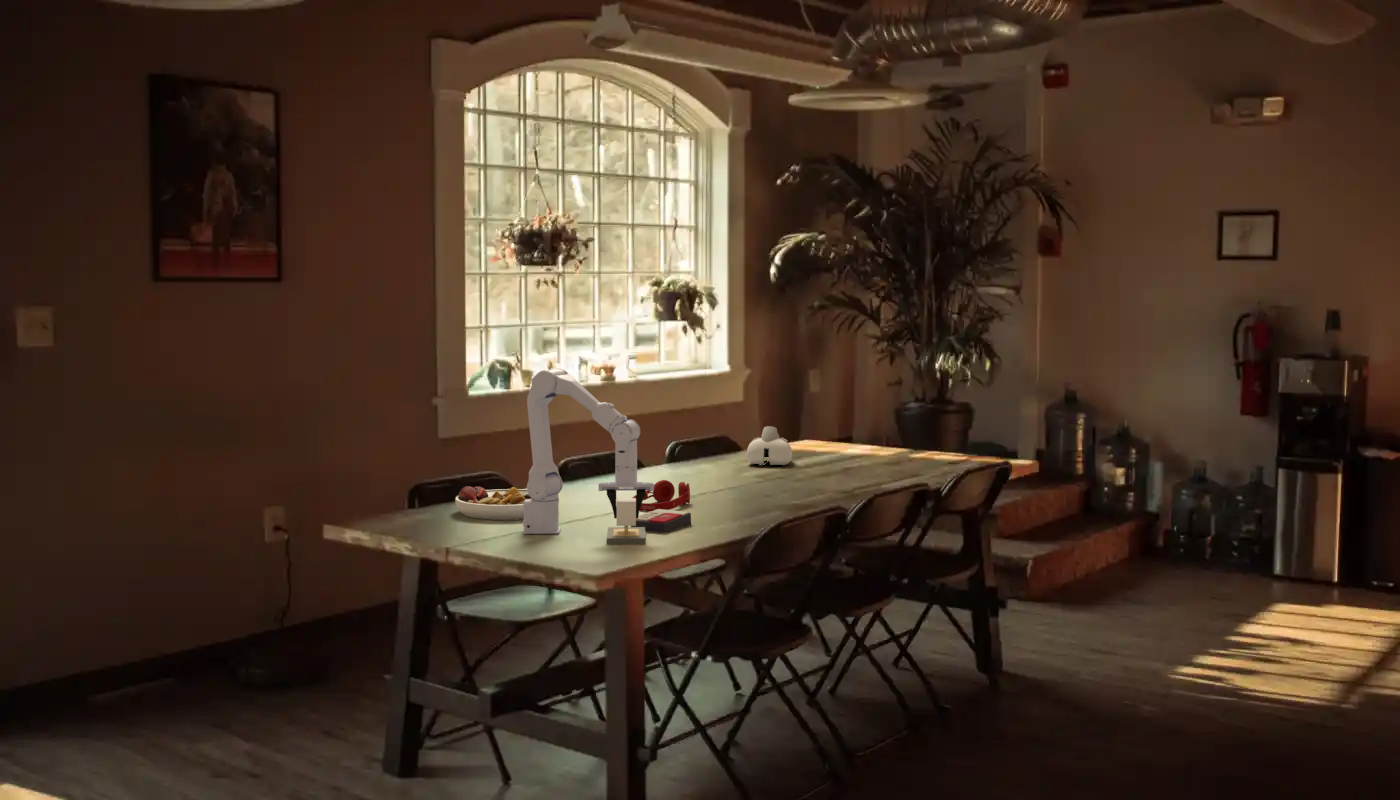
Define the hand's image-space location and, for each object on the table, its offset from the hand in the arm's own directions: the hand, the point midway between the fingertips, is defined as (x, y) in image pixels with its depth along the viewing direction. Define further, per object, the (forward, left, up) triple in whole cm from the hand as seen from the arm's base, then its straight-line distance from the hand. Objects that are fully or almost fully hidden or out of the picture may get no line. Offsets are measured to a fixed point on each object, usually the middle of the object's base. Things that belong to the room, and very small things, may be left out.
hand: (626, 517), depth 359 cm
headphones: (+10, +51, -6) cm, 52 cm away
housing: (0, 0, -1) cm, 1 cm away
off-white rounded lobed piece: (+53, +146, -6) cm, 156 cm away
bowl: (-35, +41, -6) cm, 54 cm away
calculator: (+9, +16, -6) cm, 20 cm away
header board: (0, 0, -6) cm, 6 cm away
